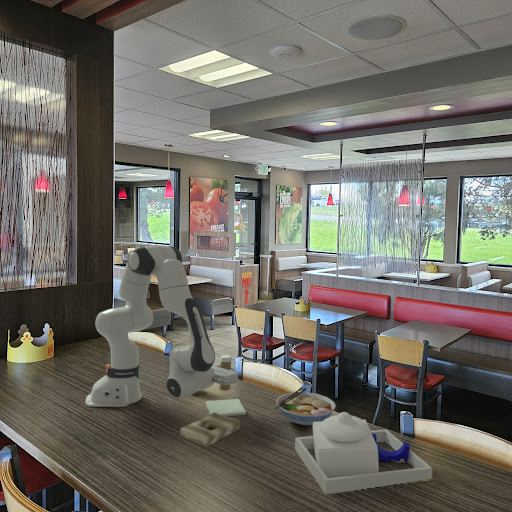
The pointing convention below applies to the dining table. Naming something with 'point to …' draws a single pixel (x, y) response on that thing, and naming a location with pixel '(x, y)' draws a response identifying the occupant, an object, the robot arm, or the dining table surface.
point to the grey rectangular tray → (364, 480)
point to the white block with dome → (345, 446)
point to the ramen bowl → (305, 407)
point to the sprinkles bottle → (226, 365)
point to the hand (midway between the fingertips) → (227, 368)
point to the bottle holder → (206, 437)
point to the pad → (226, 407)
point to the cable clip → (393, 452)
